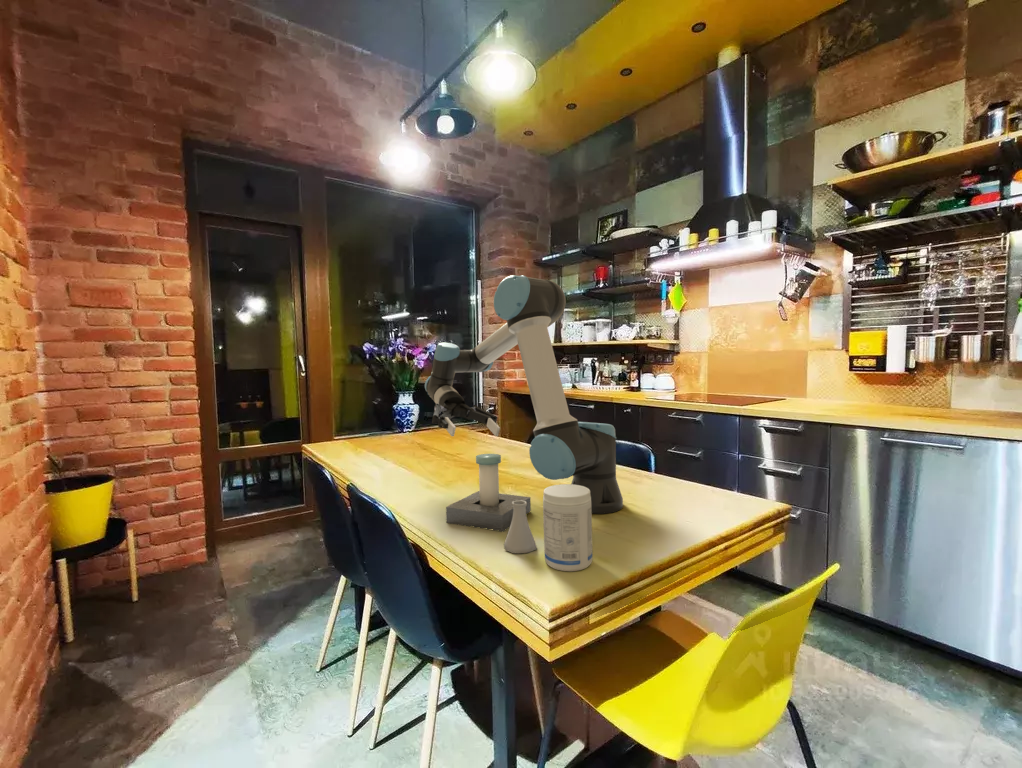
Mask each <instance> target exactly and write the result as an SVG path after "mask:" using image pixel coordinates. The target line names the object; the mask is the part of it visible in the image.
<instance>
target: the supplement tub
mask: <svg viewBox="0 0 1022 768" xmlns="http://www.w3.org/2000/svg"><path fill="white" fill-rule="evenodd" d="M542 509H543V510H542V513H543V544H544V545H543V546H544V551H543V552H544V562H545V564H547V565H548V566H549V567H551V568H552V569H554V570H557V571H562V572H576V571H577V572H578V571H581V570H585V569H587V568H588V567H589V566H590V565H591V564H592V562H593V522H592V521H593V519H592V517H593V515H592V514H593V513H592V511H591V496H590V490H589V489H588V488H586V487H584V486H580V485H573V484H571V483H570V484H569V483H564V484H561V483H560V484H553V485H549V486H547V487H546V488H544V489H543V497H542Z"/></svg>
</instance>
